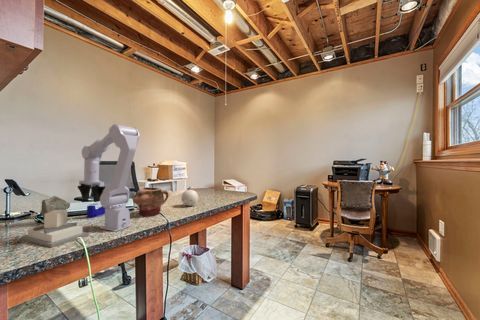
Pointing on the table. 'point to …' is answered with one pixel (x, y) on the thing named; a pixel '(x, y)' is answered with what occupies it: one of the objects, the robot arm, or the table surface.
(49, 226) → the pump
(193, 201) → the ornament
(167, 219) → the table surface
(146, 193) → the brown handled pot
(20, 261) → the table surface
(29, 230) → the stepped base plate
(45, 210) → the mineral rock
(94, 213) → the cable clip
